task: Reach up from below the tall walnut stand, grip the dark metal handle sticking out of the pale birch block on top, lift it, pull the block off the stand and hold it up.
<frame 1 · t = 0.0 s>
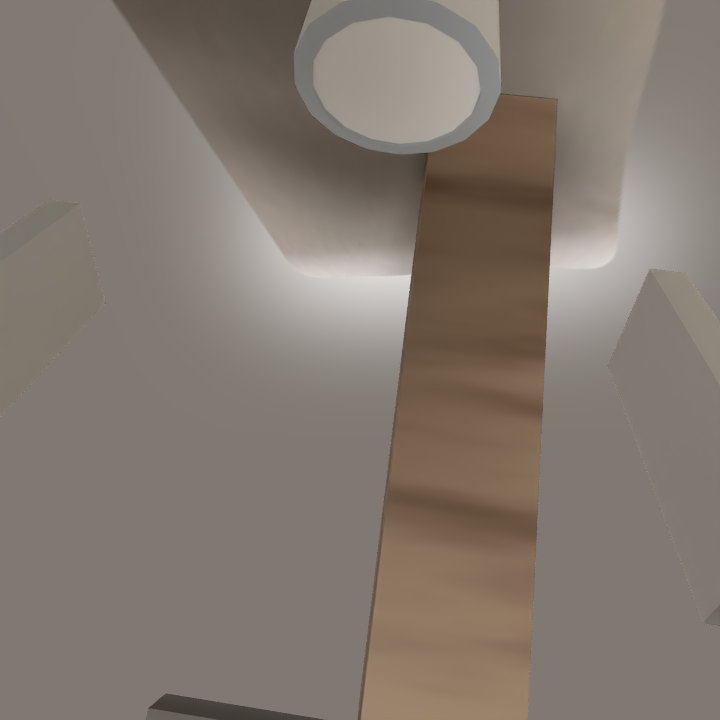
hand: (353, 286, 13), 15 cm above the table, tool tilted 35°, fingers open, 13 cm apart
stand: (481, 147, 31), on the table
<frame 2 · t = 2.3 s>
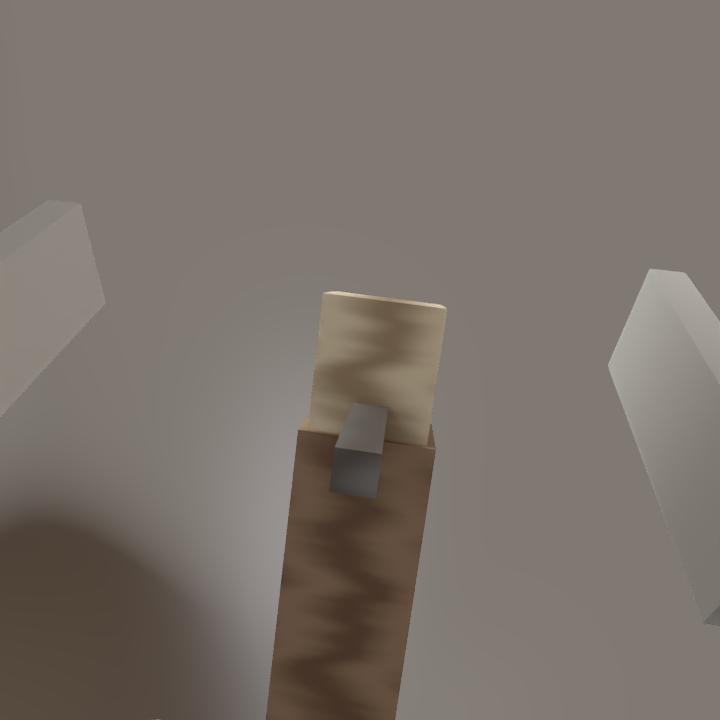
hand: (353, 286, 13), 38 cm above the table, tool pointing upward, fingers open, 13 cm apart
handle: (369, 426, 35), point 29 cm above the table, touching stand
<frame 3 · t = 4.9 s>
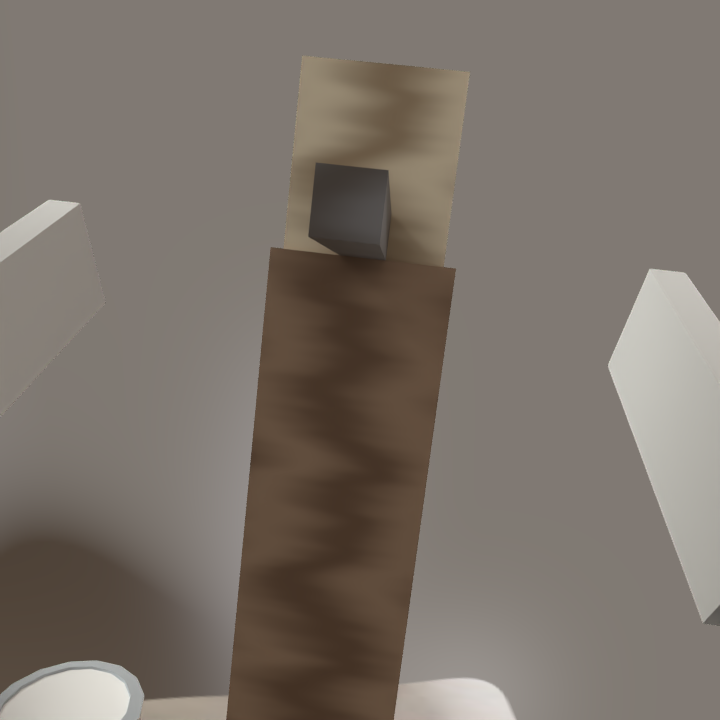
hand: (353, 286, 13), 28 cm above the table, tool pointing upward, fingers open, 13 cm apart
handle: (366, 261, 27), point 29 cm above the table, touching stand
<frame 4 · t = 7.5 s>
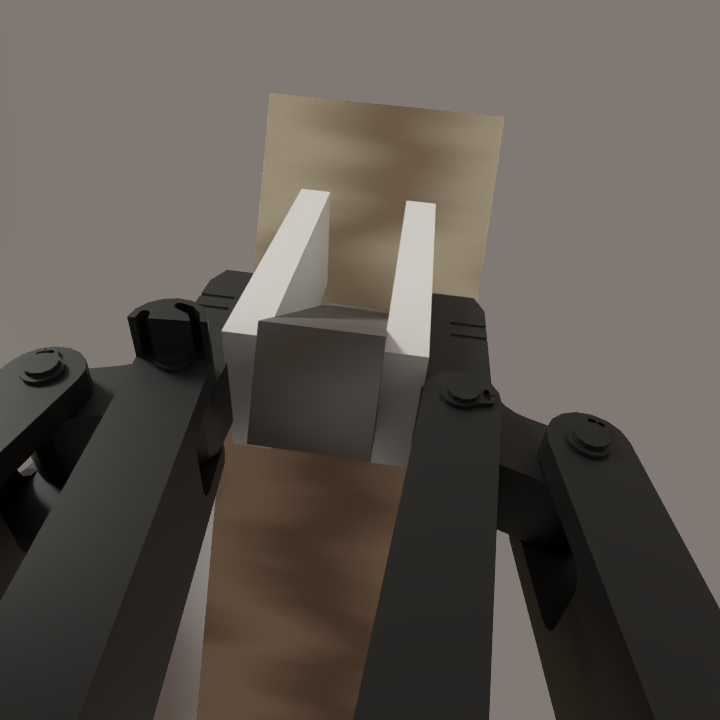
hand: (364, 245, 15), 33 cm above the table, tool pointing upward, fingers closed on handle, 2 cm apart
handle: (360, 359, 20), point 29 cm above the table, touching gripper, stand
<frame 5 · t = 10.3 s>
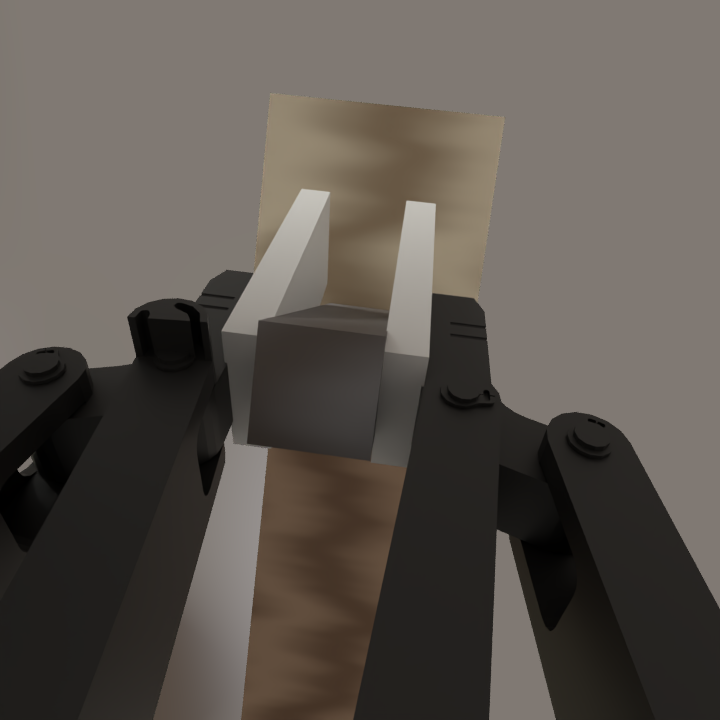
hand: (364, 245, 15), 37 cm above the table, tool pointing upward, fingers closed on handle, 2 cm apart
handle: (360, 358, 20), point 33 cm above the table, touching gripper
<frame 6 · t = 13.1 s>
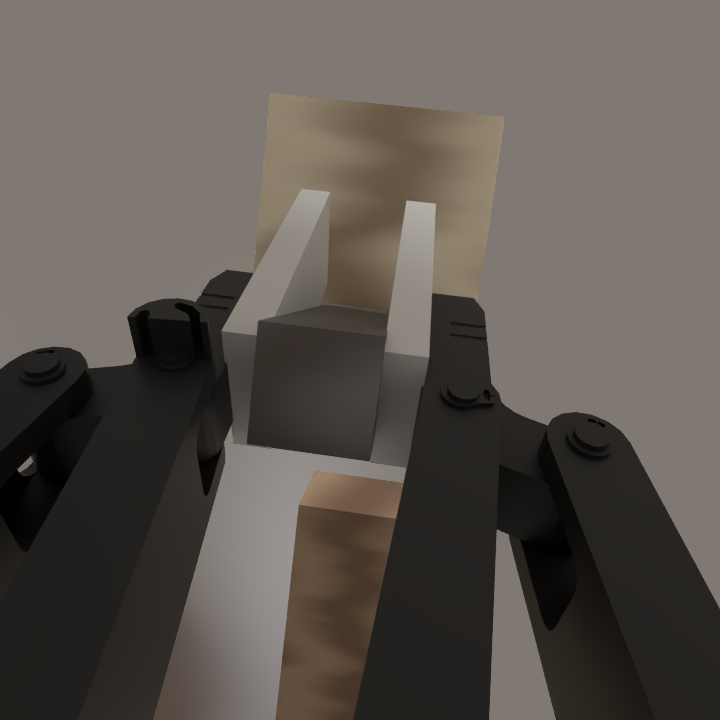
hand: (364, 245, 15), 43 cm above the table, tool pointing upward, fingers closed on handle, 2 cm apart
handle: (360, 358, 20), point 39 cm above the table, touching gripper
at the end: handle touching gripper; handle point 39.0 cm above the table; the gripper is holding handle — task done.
